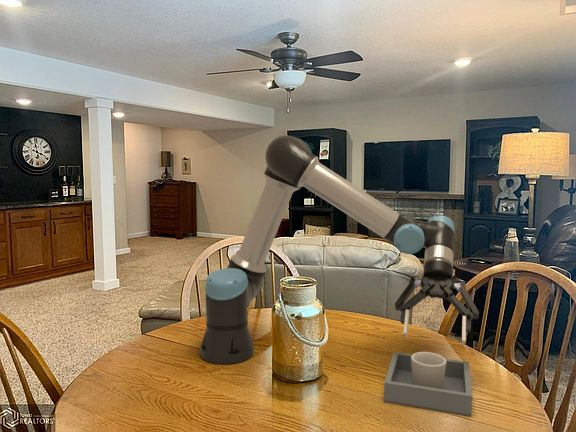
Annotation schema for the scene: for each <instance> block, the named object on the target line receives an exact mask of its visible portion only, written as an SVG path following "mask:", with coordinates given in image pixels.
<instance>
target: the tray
mask: <svg viewBox="0 0 576 432" xmlns="http://www.w3.org/2000/svg"><path fill="white" fill-rule="evenodd" d="M413 354H414V353H412V354H411V353H405V352H404V353H403V352H399V351H398V352H397V351H393V354H392V357H391V360H390V363H389V367H388V371H387V373H386V377H385V379H384V382H383V383H384V384H383V386H384V387H383V390H384V391H383V402H385V403H389V404H396V405H400V406H401V405H402V406H407V407H412V408H413V407H414V408H420V409H424V410H431V411H437V412H443V413H447V414H449V413H450V414H456V415H460V416H466V417H472V407H473V393H472V383H471V382H472V381H471V369H470V362H469V361H463V360H458V359H450V358H449V359H448V358H445V359H446V362H447V363H446V370H445V376H444V383H443V388H442V389H438V388H431V387H425V386H418V385H413V379H412V366H411V356H412V355H413Z"/></svg>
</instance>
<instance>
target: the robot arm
mask: <svg viewBox="0 0 576 432" xmlns="http://www.w3.org/2000/svg"><path fill="white" fill-rule="evenodd" d="M265 162H266V165H267V166H266V168H265V171H264V173H263V175H264V178H265V181H266V182H265V185H264V187H263V189H262V192H261V194H260V197H259V199H258V202H257V205H256V207H255V209H254V210H255V211H254V212H253V214H252V217H251V220H250V222H249V225H248V228H247V230H246V233H245V235H244V238H243V240H242V243H241V245H240V248H239V251H238V252H236V253H235V254H232V255H231V257H230V259H229V262H228V265H227V267H226V268H221V269H219V270H218V269H217V270H213V271H211V272H210V273H209V274H208V275H207V276H206V279H205V284H204V285H205V287H204V290H205V322H206V325H205V327H206V329H205V331H204V334H203V337H202V342H201V345H200V357H201V359H202V360H204V361H206V362H208V363H212V364H218V365H231V364H238V363H241V362H244V361H247V360H249V359H250V358H253V356H254V354H255V344H254V341H253V338H252V334H251V332H250V330H249V325H248V324H249V323H248V322H249V321H248V317H249V316H248V313H249V312H248V310H249V309H248V308H249V307H248V306H249V304H250V303H251V302H252V301H253V300H254V299H255V298H256V297H257V296H258V295H259V294H260V292H261V290H262V288H263V283H264V278H265V275H266V272H267V270H268V269H267V267H266V264H265V262H266V259H267V257H268V254H269V252H270V249H271V247H272V245H273V242H274V240H275V238H276V235H277V233H278V231H279V227H280V225H281V222H282V220H283V218H284V215H285V213H286V210H287V208H288V205H289V203H290V201H291V198H292V196H293V193H294V192H296V191H298V190H300V189H301V188H302V187H304V188H305V189H307V190H308V191H310V192H311V193H313V194H314V195H316V196H318V197H319V198H321V199H322V200H324V201H326V202H327V203H328V204H331V205H332V206H333V207H335V208H337V209H338V210H340V211H341V212H343V213H344V214H345V215H347V216H349V217H350V218H352V219H353V220H354V221H356V222H358V223H359V224H361V225H363V226H364V227H366V228H367V229H369V230H370V231H372V232H373V233H375V234H376V235H378V236H380V237H381V238H383V239H384V240H385V241H387V242H388V243H390V244H392V245H393V246H395V248H396V250H398V251H399V252H401V253H402V254H404V255H405V254H407V255H413V254H416V253H418V252H419V251H421V250H422V248H424V260H423V263H424V264H423V272H422V279H416V277H414V276H411V277H410V280H409V284H408V285H407V286H406V287H405V289H404V290H403V292H401V294H400V296H399V297H398V299H397V300H396V301H395V303H394V307H395V308H394V309H395V311H399V312H400V323H401V324H402V325H403V338H405V339H407V338H408V332H409V321H410V310H411V309H413V308H414V307H415V306H417V305H418V304H419V303H420V302H421V301H423V300H425V299H426V298H427V297H430V298H432V299H434V298H436V299H440V300H441V299H444V298H445V299H446V300H447V301H448V302H450V303H451V305H452V306H453V307H454V308H455V310H457V311H458V313H459V314H460V315H462V321H461V323H462V324H461V346H466V339H467V338H466V337H467V336H466V333H467V332H468V333H470V332H471V329H472V328H471V327H472V320H474V319H475V320H478V319H479V315H480V312H479V310H478V308H477V306H476V304H475V302H474V301H473V299H472V298H471V296H470V294H469V292H468V290H467V289H466V288H467V287H466V282H465V281H463V280H461V281H460V282H457V283H456V282H455V283H454V281H453V278H454V277H453V274H454V273H453V272H454V268H453V267H454V248H455V236H456V232H455V223H454V222H453V220H452V219H451V218H450V217H448V216H446V215H442V214H441V215H433V216H432V217H430V218H429V219H428V221H427V220H419V219H418V220H417V219H414V218H409V217H404V215H403V216H402V215H401V214H400V213H398V212H397V211H395V210H393V209H392V208H390V207H389V206H387V205H386V204H385V203H383V202H381V201H380V200H378V199H376V198H375V197H373V196H372V195H370V194H368V193H367V192H366V191H364V190H363V189H361V188H359V187H358V186H357V185H355V184H353V183H352V182H350V181H348V180H347V179H346V178H344V177H342V176H341V175H339V174H338V173H336V172H335V171H333V170H332V169H330V168H328V167H327V166H325V165H324V164H322V163H321V162H320V160H319V157H318V156H316V155H315V154H314V153H313V152H312V149H311V147H310V145H308V144H307V142H306V141H304V140H302V139H301V138H297V137H295V136H291V135H281V136H278V137H276V138H275V139H273V140H272V141H271V142H270V143H269V144H268V145H267V148H266V151H265ZM419 286H420V287H421V289H420V290H419V291H418V292H417V293H415V294H414V295H413V296H412V297H411V298H410V296H411V294H412V293H413V292H414V290H415V289H417V288H418V287H419ZM454 289H456V291H457V292H458V293H459V294H460V296H461V298H462V300H463V302H464V304H465V305H466V306H465V305H464V304H463V303H462V302H461V301H460V299H458V297H457V296H456V295H455V294H454V292H453V290H454Z"/></svg>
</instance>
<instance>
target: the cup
mask: <svg viewBox="0 0 576 432" xmlns="http://www.w3.org/2000/svg"><path fill="white" fill-rule="evenodd" d="M412 354H413V355H412V356H411V366H412V379H413V385H418V386H425V387H431V388H438V389H442V388H443V383H444V376H445V370H446V363H447V362H446V359H447V358H445V357H444V356H443V355H440V354H439V353H435V352H431V351H418V352H415V353H412Z"/></svg>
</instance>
